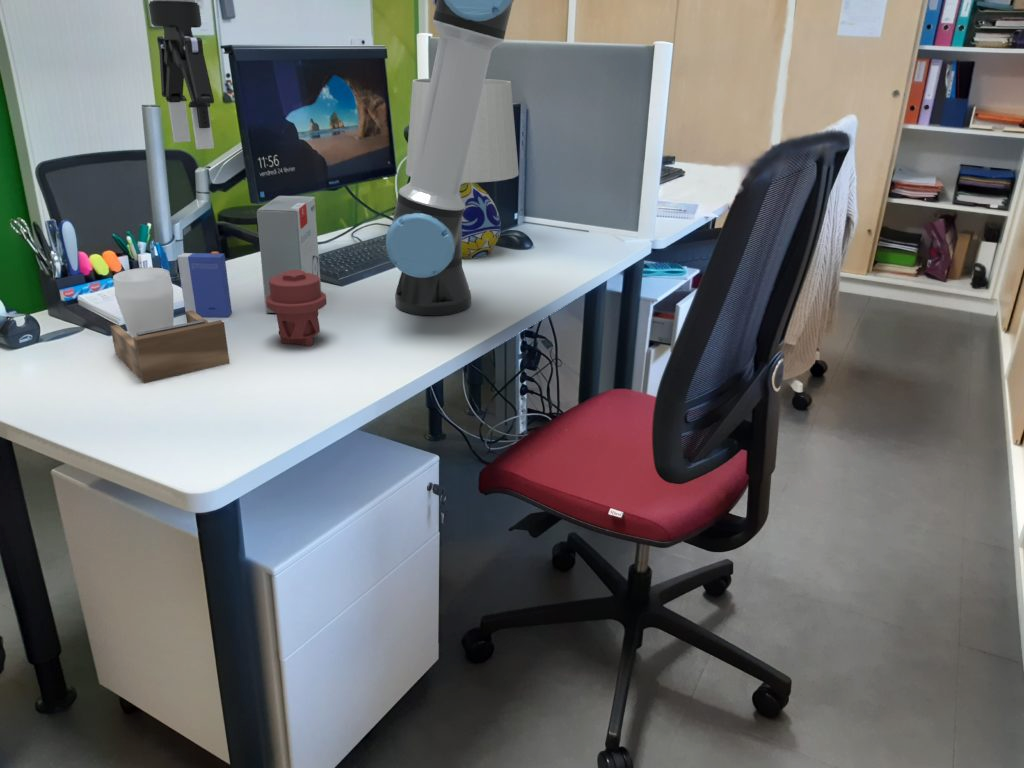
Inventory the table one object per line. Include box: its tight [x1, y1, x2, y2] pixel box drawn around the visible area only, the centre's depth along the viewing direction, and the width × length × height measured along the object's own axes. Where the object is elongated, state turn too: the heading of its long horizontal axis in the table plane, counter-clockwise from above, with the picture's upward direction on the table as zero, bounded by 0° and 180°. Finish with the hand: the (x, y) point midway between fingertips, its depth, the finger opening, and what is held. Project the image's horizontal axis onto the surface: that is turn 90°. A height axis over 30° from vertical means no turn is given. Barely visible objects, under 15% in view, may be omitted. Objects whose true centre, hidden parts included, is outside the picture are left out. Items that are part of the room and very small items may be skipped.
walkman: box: [176, 251, 233, 318], centre depth 149 cm, size 8×3×12 cm, turn 92°
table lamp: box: [405, 78, 520, 260], centre depth 191 cm, size 27×27×40 cm
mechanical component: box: [266, 270, 327, 347], centre depth 137 cm, size 12×10×10 cm
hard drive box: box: [256, 195, 322, 314], centre depth 155 cm, size 16×8×20 cm, turn 0°
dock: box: [109, 310, 230, 384], centre depth 130 cm, size 15×13×7 cm
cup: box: [112, 267, 175, 338], centre depth 135 cm, size 9×9×12 cm
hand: (193, 145), depth 135 cm, fingers open, 10 cm apart
